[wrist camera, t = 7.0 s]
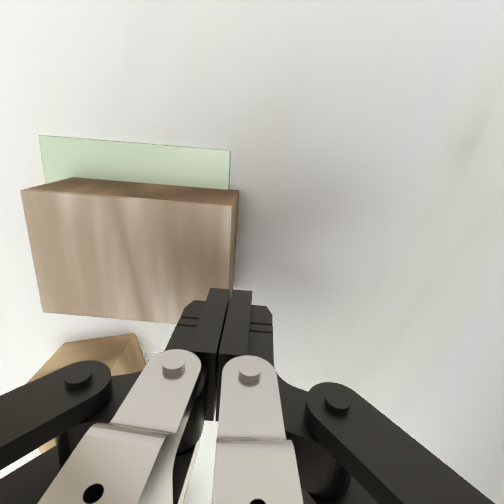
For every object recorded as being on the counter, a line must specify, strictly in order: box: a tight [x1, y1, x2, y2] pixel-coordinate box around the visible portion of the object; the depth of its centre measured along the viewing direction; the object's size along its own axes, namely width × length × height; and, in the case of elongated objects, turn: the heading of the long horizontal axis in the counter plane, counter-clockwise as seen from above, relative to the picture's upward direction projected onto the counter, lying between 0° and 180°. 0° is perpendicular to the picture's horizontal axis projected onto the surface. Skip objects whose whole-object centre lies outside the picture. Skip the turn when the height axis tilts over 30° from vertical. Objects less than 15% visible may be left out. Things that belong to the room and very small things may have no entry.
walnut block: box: [20, 177, 239, 324], centre depth 17 cm, size 4×6×9 cm
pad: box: [38, 136, 230, 190], centre depth 19 cm, size 10×10×1 cm
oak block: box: [26, 333, 146, 454], centre depth 20 cm, size 5×5×5 cm
